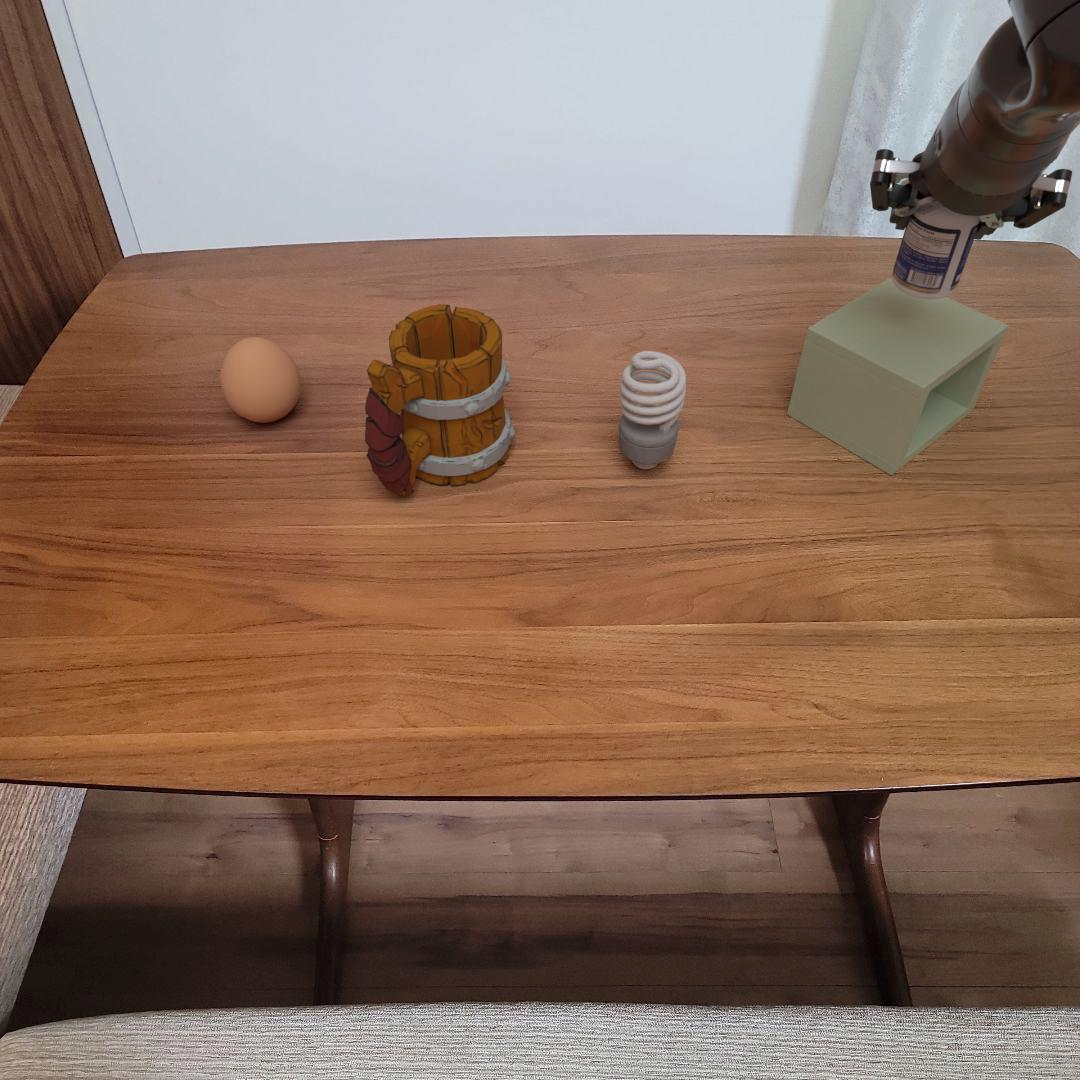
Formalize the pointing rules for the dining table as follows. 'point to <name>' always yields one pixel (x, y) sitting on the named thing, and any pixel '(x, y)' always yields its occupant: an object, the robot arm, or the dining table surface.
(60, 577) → the dining table surface
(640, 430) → the light bulb
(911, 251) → the pill bottle
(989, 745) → the dining table surface
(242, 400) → the egg
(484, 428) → the mug
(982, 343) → the shelf
